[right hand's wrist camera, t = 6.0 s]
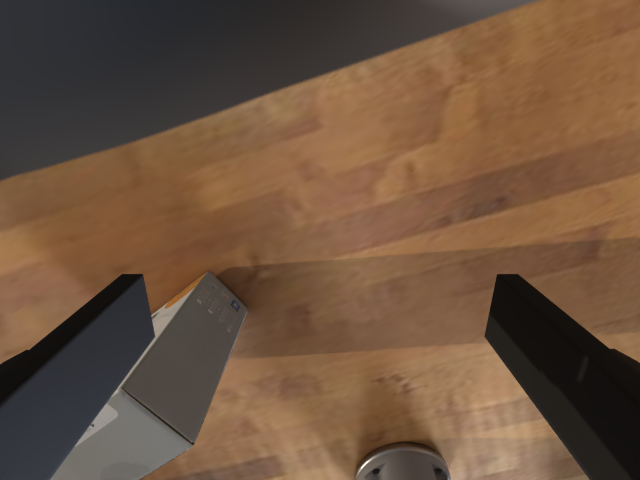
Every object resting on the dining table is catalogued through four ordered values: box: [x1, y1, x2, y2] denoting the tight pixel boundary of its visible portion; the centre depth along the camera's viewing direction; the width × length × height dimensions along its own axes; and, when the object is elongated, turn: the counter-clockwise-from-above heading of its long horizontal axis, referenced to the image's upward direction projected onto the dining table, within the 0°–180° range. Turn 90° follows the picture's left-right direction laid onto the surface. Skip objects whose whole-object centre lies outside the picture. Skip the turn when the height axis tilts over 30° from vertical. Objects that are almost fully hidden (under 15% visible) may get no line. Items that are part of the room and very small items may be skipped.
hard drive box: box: [50, 271, 248, 480], centre depth 36 cm, size 16×8×20 cm, turn 128°
